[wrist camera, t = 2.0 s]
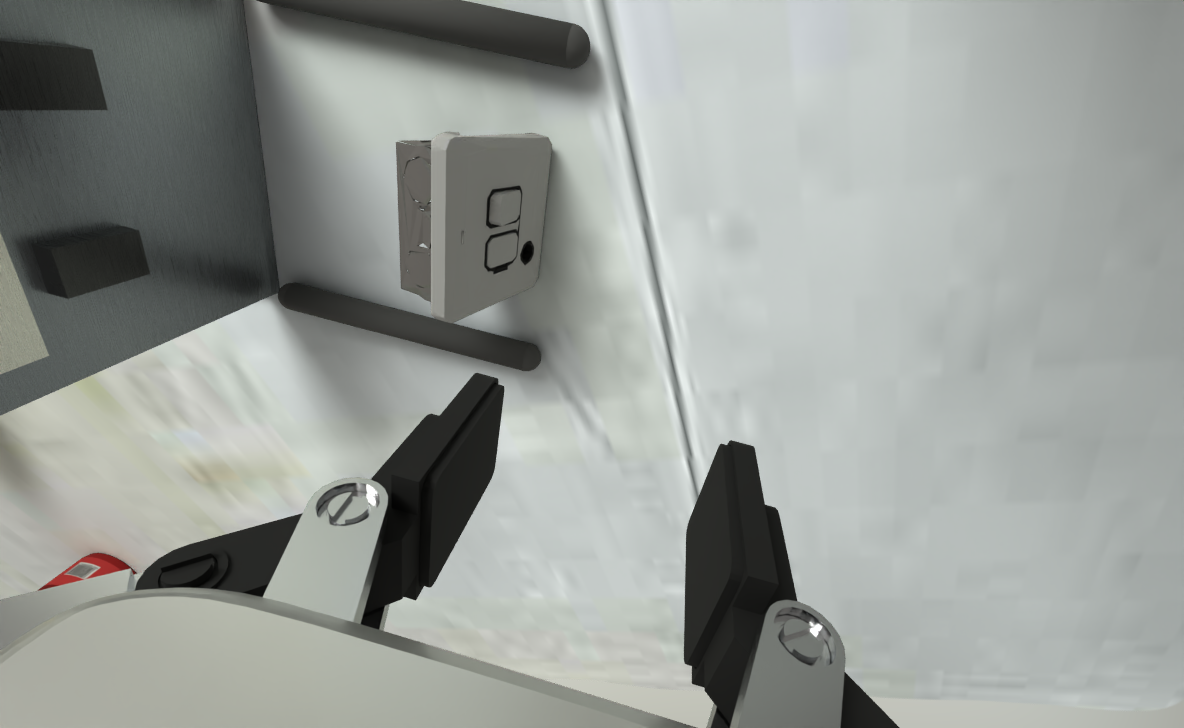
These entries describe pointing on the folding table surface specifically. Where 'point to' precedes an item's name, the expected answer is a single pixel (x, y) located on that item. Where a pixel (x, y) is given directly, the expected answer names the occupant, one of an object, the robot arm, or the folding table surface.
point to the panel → (123, 183)
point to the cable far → (410, 326)
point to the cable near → (463, 26)
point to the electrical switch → (471, 218)
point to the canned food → (88, 569)
